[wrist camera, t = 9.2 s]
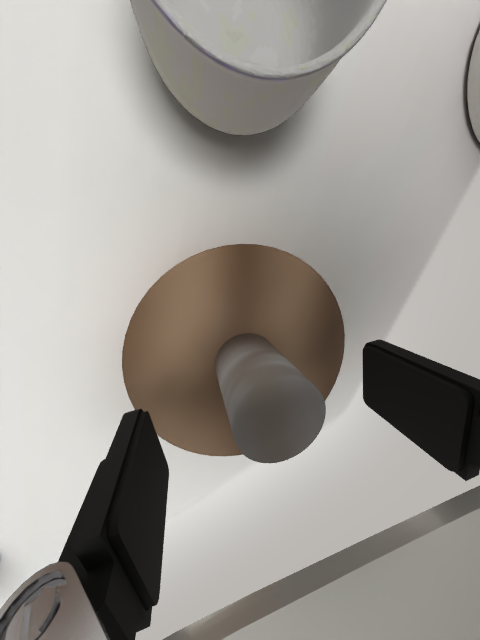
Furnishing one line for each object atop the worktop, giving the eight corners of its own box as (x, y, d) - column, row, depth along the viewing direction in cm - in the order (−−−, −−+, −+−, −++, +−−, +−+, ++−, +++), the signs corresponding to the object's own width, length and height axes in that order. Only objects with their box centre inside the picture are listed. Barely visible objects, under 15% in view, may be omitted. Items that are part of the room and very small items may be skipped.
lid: (328, 227, 13) (440, 201, 7) (338, 409, 17) (416, 485, 11) (89, 271, 11) (-20, 282, 5) (164, 470, 14) (150, 604, 9)
